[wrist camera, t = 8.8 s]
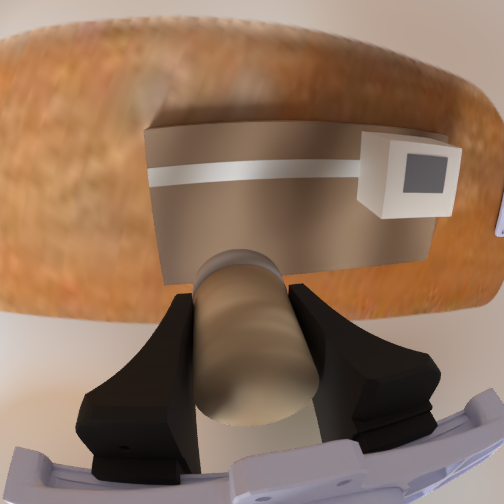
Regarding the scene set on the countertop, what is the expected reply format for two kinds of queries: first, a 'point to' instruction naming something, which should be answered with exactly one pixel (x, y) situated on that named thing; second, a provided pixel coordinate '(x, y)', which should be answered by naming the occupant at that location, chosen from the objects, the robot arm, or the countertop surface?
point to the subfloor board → (272, 197)
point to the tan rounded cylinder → (247, 343)
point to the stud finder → (407, 175)
